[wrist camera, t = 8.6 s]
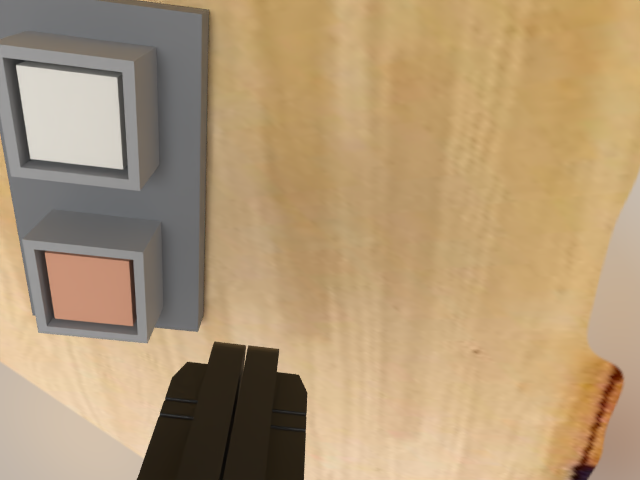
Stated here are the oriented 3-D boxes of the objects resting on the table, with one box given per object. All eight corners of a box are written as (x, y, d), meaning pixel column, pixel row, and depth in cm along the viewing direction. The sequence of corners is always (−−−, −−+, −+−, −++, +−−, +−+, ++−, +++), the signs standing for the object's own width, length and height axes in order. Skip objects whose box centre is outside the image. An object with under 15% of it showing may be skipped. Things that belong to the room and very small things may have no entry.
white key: (34, 57, 28) (15, 65, 27) (129, 69, 29) (117, 77, 27) (46, 146, 31) (30, 158, 29) (134, 156, 31) (123, 169, 29)
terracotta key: (58, 236, 34) (44, 252, 32) (138, 245, 34) (128, 261, 32) (67, 300, 36) (54, 318, 35) (142, 307, 37) (132, 326, 35)
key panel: (-6, -19, 30) (-76, -10, 25) (208, 9, 31) (185, 24, 25) (45, 299, 41) (4, 352, 35) (203, 315, 41) (185, 369, 36)
